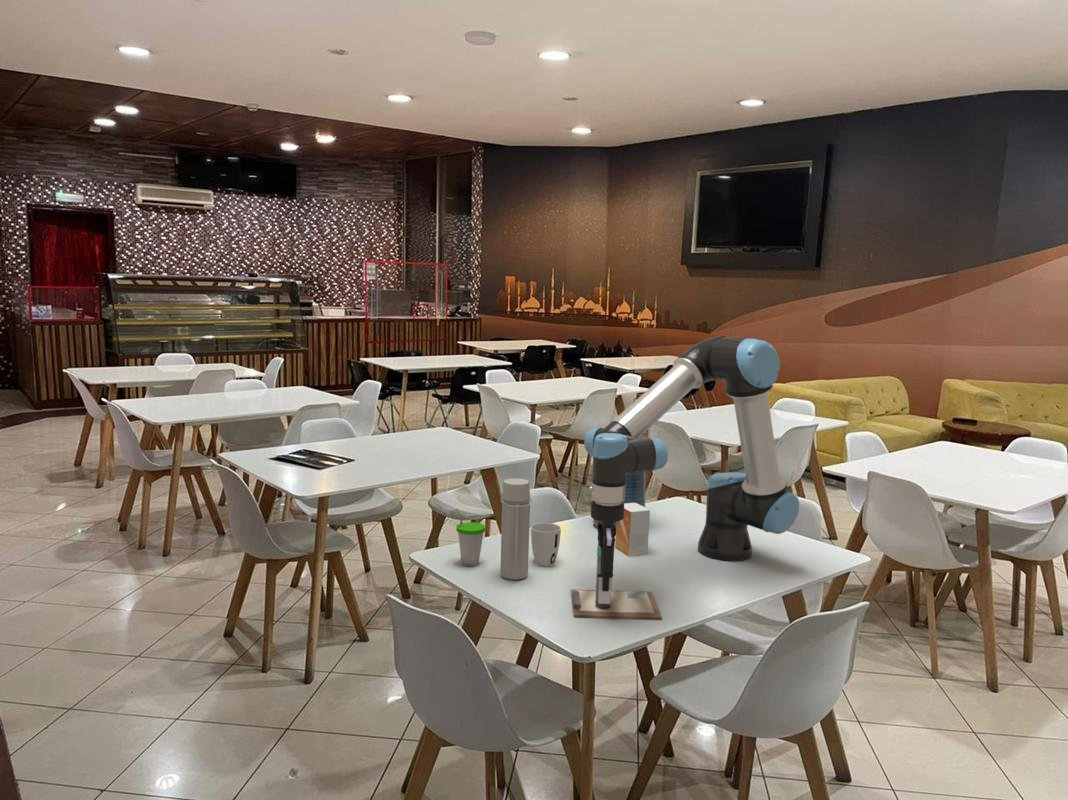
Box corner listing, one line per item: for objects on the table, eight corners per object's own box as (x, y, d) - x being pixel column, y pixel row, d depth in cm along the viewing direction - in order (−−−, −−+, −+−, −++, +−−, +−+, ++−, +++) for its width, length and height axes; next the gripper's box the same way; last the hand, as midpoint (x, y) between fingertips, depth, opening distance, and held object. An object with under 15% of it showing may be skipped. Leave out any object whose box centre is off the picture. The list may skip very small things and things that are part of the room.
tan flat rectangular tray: (651, 593, 190) (652, 587, 190) (661, 619, 176) (662, 613, 175) (570, 591, 190) (570, 585, 190) (573, 617, 175) (574, 610, 175)
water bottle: (498, 570, 203) (500, 477, 199) (528, 570, 203) (531, 478, 200) (499, 584, 194) (502, 486, 190) (531, 584, 194) (534, 487, 191)
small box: (614, 547, 224) (616, 503, 222) (633, 545, 226) (636, 502, 225) (628, 556, 217) (631, 511, 215) (648, 554, 219) (650, 509, 217)
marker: (610, 602, 182) (612, 545, 180) (612, 609, 178) (614, 550, 176) (594, 602, 182) (596, 545, 180) (595, 608, 178) (598, 550, 176)
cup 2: (556, 569, 205) (558, 533, 203) (526, 566, 206) (528, 530, 205) (561, 559, 213) (563, 524, 211) (533, 556, 214) (534, 521, 213)
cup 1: (490, 564, 208) (492, 509, 205) (469, 571, 202) (470, 515, 200) (471, 556, 213) (472, 503, 211) (449, 563, 207) (450, 509, 205)
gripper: (588, 491, 185) (584, 585, 188) (594, 511, 168) (590, 613, 172) (620, 492, 185) (615, 586, 188) (628, 512, 168) (623, 614, 172)
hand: (603, 599), depth 180 cm, fingers closed on marker, 3 cm apart
